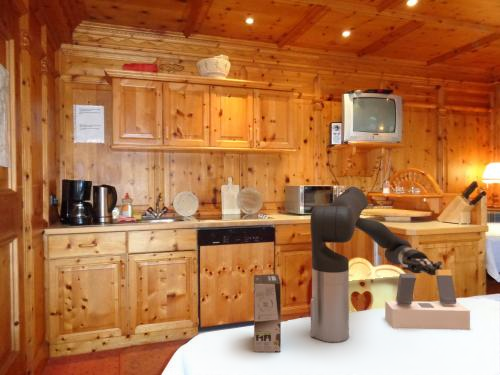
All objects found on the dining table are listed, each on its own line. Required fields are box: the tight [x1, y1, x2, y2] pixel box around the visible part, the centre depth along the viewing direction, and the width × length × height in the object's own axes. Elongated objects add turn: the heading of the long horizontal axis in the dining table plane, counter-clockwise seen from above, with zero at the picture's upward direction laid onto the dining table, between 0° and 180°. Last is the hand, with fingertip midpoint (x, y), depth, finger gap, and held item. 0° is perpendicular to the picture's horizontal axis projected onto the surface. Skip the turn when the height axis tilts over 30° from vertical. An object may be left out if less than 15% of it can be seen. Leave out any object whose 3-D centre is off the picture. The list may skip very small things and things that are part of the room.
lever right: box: [435, 269, 458, 304], centre depth 104 cm, size 4×2×9 cm, turn 86°
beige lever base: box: [384, 300, 471, 330], centre depth 103 cm, size 20×7×5 cm, turn 85°
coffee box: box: [253, 273, 282, 353], centre depth 91 cm, size 9×6×16 cm
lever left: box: [395, 273, 417, 305], centre depth 101 cm, size 4×2×9 cm, turn 86°
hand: (433, 271), depth 112 cm, fingers closed
